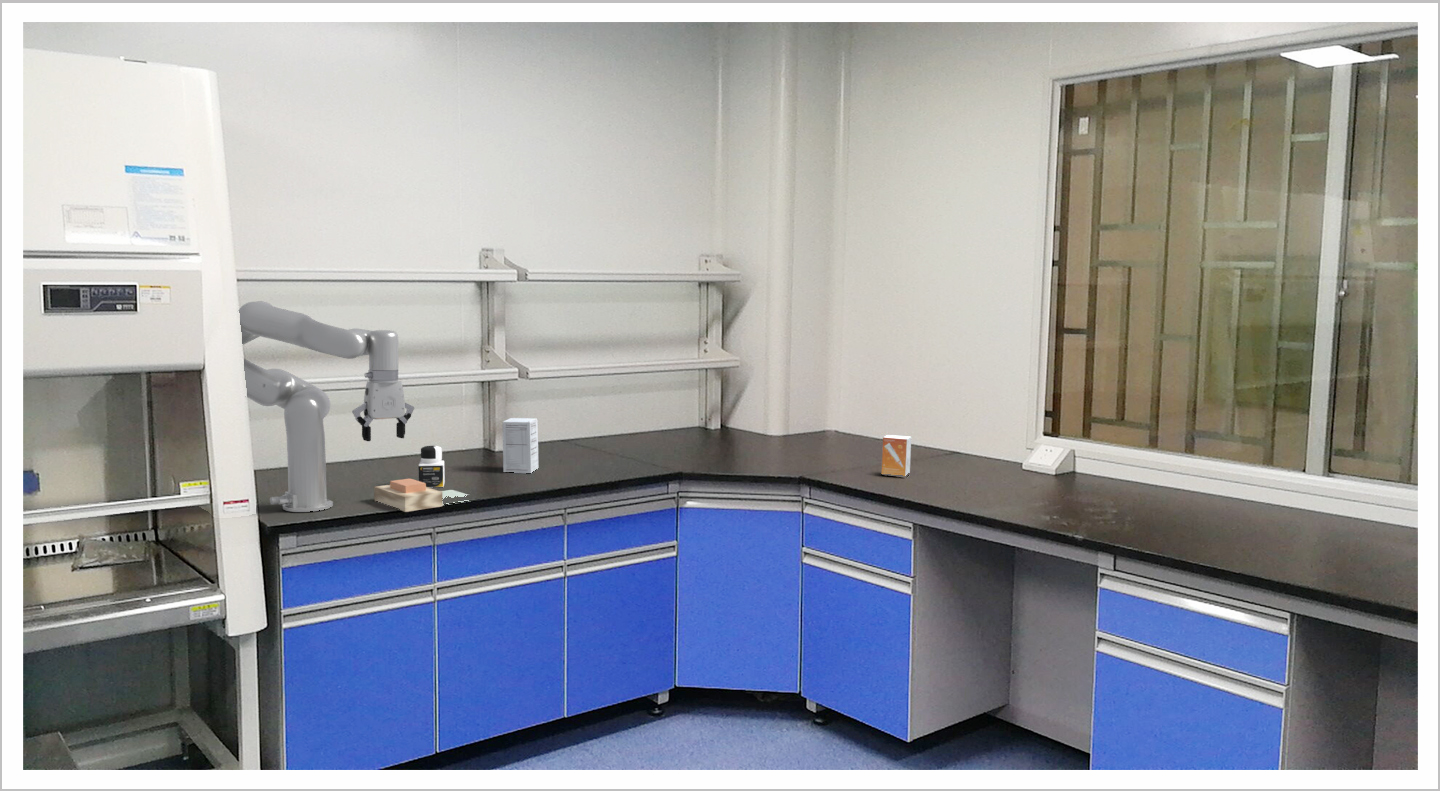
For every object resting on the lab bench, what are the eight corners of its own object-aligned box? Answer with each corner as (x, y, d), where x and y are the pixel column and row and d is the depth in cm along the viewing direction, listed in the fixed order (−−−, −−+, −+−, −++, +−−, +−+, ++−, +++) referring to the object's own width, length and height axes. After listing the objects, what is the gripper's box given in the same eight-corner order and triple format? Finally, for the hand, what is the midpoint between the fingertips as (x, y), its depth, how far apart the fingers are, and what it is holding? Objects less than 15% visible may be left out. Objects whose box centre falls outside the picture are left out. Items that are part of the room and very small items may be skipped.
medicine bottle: (418, 488, 315) (417, 448, 314) (420, 483, 322) (419, 444, 321) (443, 488, 317) (442, 448, 315) (444, 483, 324) (444, 444, 322)
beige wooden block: (405, 511, 285) (405, 497, 284) (374, 500, 298) (374, 486, 297) (442, 506, 292) (442, 491, 292) (410, 495, 305) (410, 481, 305)
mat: (442, 505, 293) (442, 504, 293) (414, 496, 305) (414, 494, 305) (480, 499, 302) (480, 498, 301) (451, 490, 313) (451, 489, 313)
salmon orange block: (425, 490, 293) (425, 483, 293) (405, 493, 289) (405, 486, 289) (410, 485, 300) (410, 478, 300) (390, 488, 296) (390, 481, 295)
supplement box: (539, 468, 350) (539, 418, 348) (531, 474, 341) (531, 421, 339) (510, 468, 351) (510, 417, 349) (502, 473, 342) (501, 421, 340)
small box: (881, 476, 346) (882, 436, 345) (885, 473, 352) (887, 434, 350) (905, 478, 343) (907, 438, 341) (910, 475, 349) (911, 436, 347)
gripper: (359, 378, 278) (359, 443, 280) (420, 376, 290) (419, 438, 292) (346, 376, 284) (347, 440, 286) (406, 373, 296) (406, 434, 298)
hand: (383, 439), depth 289 cm, fingers open, 9 cm apart
